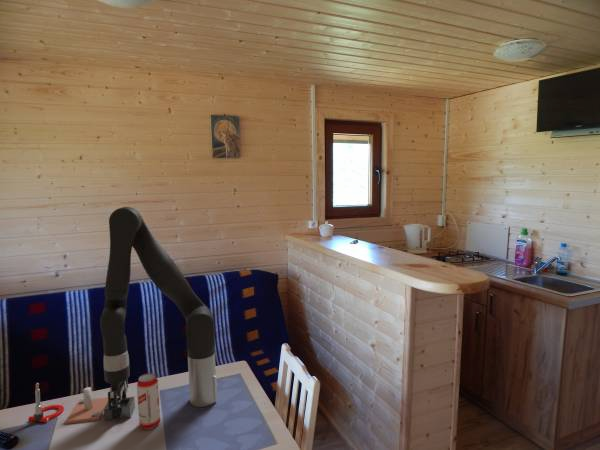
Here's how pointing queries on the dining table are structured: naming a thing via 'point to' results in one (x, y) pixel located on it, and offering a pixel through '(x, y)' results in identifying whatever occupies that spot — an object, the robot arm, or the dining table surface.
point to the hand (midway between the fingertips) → (119, 410)
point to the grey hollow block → (121, 409)
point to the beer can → (148, 401)
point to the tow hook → (44, 409)
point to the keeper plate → (87, 414)
